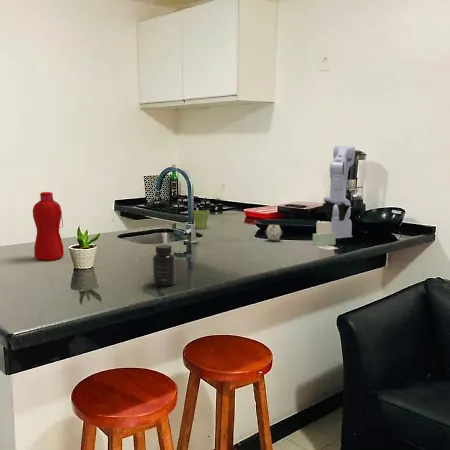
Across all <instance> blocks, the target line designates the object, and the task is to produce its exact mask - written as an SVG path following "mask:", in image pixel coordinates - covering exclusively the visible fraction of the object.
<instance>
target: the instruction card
mask: <svg viewBox="0 0 450 450" xmlns="http://www.w3.org/2000/svg"><path fill="white" fill-rule="evenodd" d="M314 246H315V245H314ZM315 248H318V249H319V248H320V249H323V250H327V251H329V250H331V251H332V250H337V249H339V248H338V247H336V246H332V245H326V246H315Z"/></svg>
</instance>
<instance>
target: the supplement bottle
mask: <svg viewBox="0 0 450 450" xmlns="http://www.w3.org/2000/svg"><path fill="white" fill-rule="evenodd" d="M172 250H173V249H172V245H170V244H159V245H156V246H155V253H156V254H154V255H153V257H152V281H153V282H152V283H153V285H154V284H155V285H154V286H156V285H158V286H157V287H160V286H167V287H170V286H169V285H172V286H173V284H174V285H175V284H176V258H175V256H174V254H172V252H173V251H172Z"/></svg>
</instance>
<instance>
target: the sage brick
mask: <svg viewBox="0 0 450 450" xmlns="http://www.w3.org/2000/svg"><path fill="white" fill-rule="evenodd" d="M312 245H313V246H326V245H328V246H332V245H336V238H335V233H331V234H317V232H316V233H312Z"/></svg>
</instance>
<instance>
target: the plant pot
mask: <svg viewBox="0 0 450 450" xmlns="http://www.w3.org/2000/svg"><path fill="white" fill-rule="evenodd" d="M193 211H194V220H193V223H194V222H195V226H196V228H195V229H197V230H203V229H207V226H208V219H209V214H210V211H209V210H193Z"/></svg>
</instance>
